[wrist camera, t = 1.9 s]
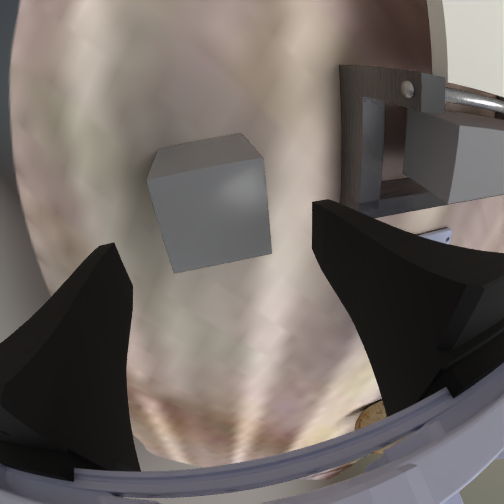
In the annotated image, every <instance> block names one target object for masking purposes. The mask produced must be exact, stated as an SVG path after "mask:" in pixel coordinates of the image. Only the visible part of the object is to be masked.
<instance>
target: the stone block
mask: <svg viewBox="0 0 504 504" xmlns="http://www.w3.org/2000/svg"><path fill="white" fill-rule="evenodd" d="M146 182H147V186H148V189H149V193H150V197H151V200H152V204H153V207H154V211H155V214H156V218H157V221H158V224H159V228H160V231H161V234H162V237H163V241H164V244H165V247H166V250H167V253H168V256H169V259H170V262H171V265H172V268H173V271H174V274H175V273H180V272H185V271H190V270H195V269H200V268H204V267H209V266H214V265H219V264H224V263H229V262H234V261H239V260H244V259H249V258H253V257H258V256H263V255H268V254H272V248H271V235H270V224H269V212H268V201H267V190H266V179H265V168H264V158H263V157H262V155H261V154H260V153H259V152H258V151H257V150H256V148H255V147H254V146H253V145H252V144H251V143H250V142H249V140H248V139H247V138H246V137H245V136H244V135H243V134H242V133H239V134H232V135H226V136H220V137H214V138H209V139H204V140H198V141H193V142H188V143H184V144H179V145H174V146H170V147H165V148H161V149H158V151H157V154H156V156H155V159H154V162H153V164H152V167H151V169H150V172H149V175H148V177H147V180H146Z"/></svg>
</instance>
